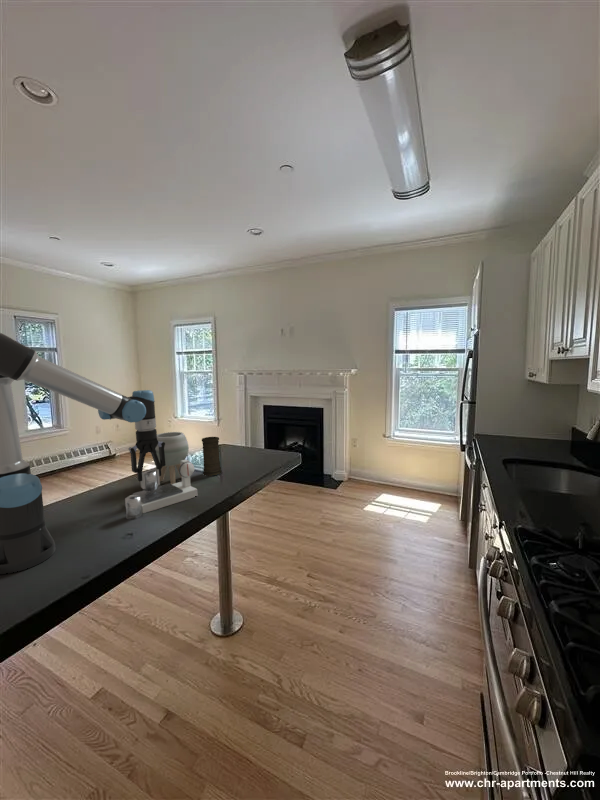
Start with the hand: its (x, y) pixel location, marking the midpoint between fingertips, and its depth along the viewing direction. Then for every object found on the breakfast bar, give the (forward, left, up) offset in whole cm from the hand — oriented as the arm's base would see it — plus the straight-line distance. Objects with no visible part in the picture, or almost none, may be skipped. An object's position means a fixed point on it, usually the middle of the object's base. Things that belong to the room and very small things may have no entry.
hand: (150, 486), depth 136 cm
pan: (+2, -3, -3) cm, 4 cm away
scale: (+4, -3, -6) cm, 8 cm away
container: (+34, +12, -6) cm, 37 cm away
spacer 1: (-10, -10, -6) cm, 15 cm away
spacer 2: (0, 0, -1) cm, 1 cm away
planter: (+16, +16, -6) cm, 23 cm away
